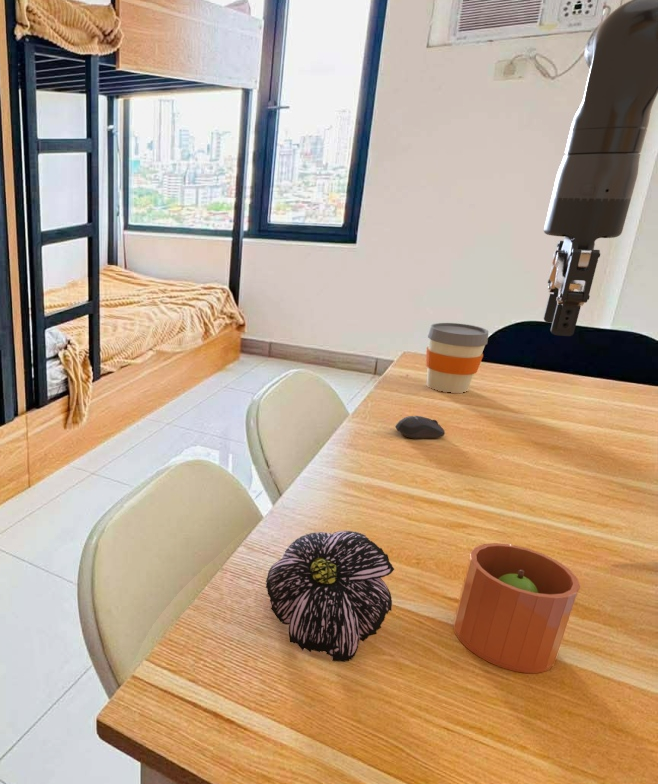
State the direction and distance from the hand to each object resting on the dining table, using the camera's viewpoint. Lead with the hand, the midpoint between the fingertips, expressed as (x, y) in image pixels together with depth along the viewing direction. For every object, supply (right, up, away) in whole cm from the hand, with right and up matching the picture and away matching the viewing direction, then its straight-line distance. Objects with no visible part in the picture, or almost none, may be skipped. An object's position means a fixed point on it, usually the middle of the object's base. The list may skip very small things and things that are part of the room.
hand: (556, 328), depth 80 cm
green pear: (-11, -37, -7) cm, 39 cm away
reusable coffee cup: (+32, -7, +77) cm, 83 cm away
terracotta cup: (-11, -37, -7) cm, 39 cm away
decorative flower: (-31, -36, -3) cm, 48 cm away
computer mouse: (+10, -17, +49) cm, 53 cm away
